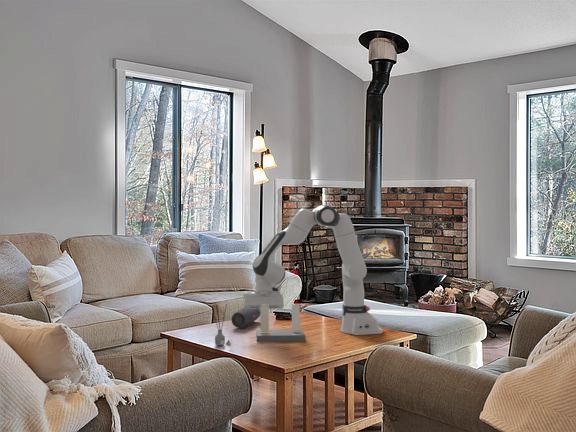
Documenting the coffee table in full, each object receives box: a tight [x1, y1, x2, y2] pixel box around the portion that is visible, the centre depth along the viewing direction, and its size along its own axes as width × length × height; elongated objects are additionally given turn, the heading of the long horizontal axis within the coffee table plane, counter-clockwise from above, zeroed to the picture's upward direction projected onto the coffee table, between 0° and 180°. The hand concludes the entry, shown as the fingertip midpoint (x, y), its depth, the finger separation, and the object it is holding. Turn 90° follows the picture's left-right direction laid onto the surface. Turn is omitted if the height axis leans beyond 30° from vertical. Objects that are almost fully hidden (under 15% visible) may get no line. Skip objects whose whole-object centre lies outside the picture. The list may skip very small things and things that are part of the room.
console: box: [255, 329, 306, 343], centre depth 307 cm, size 24×12×3 cm, turn 94°
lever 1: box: [260, 305, 270, 332], centre depth 306 cm, size 4×2×14 cm, turn 94°
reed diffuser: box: [211, 304, 231, 346], centre depth 294 cm, size 10×7×20 cm
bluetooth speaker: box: [231, 307, 261, 328], centre depth 337 cm, size 23×9×10 cm, turn 162°
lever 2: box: [291, 303, 301, 331], centre depth 310 cm, size 4×2×14 cm, turn 94°
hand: (263, 314), depth 307 cm, fingers closed, pressing on lever 1
